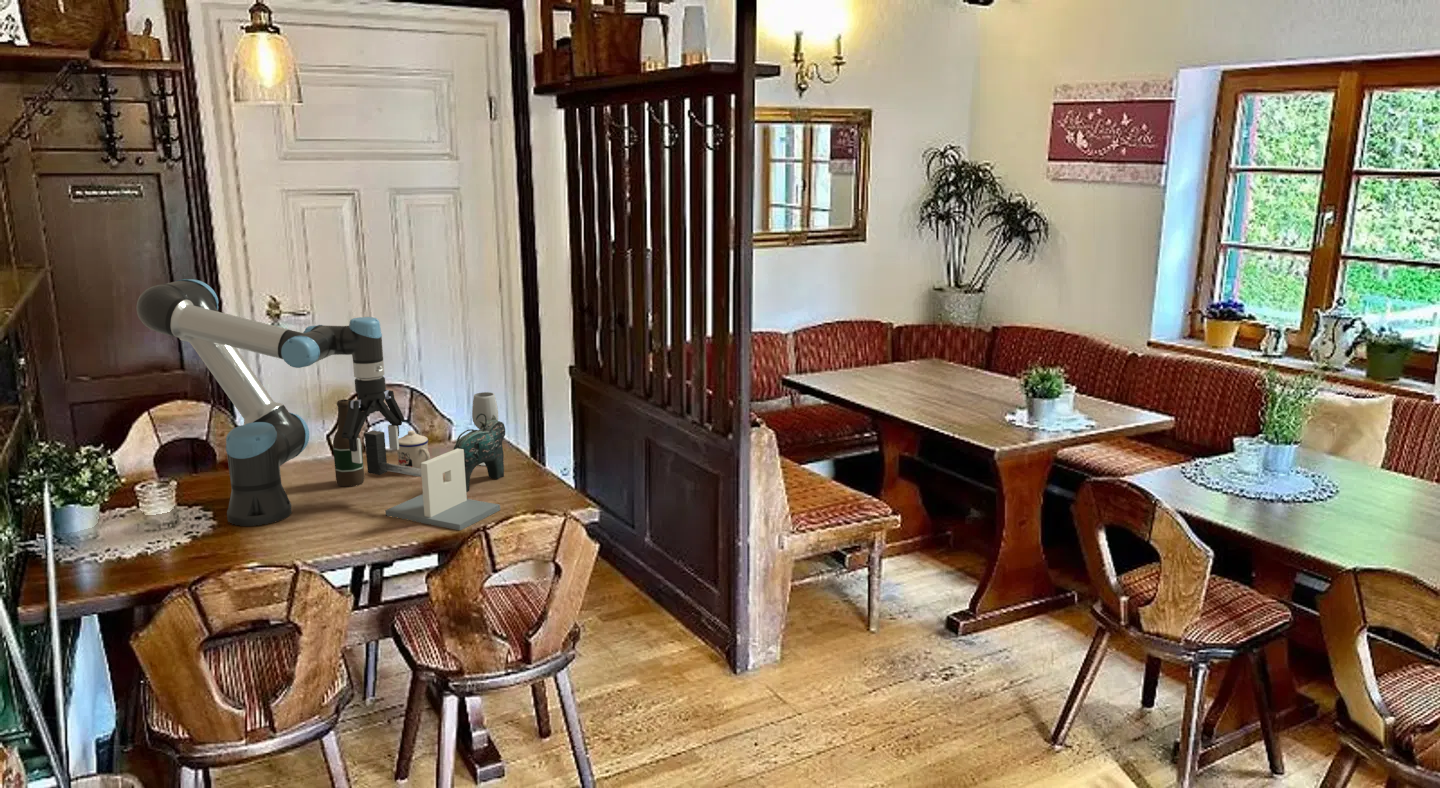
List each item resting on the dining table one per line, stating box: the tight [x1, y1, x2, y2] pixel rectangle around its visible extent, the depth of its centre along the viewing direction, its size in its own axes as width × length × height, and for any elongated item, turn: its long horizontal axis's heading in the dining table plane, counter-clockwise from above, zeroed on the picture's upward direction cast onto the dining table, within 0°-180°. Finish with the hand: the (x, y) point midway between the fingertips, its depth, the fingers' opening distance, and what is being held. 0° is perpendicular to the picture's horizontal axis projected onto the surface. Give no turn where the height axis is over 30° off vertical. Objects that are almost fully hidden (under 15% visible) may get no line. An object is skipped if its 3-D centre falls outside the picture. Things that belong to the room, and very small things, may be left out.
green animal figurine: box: [453, 413, 506, 493], centre depth 282 cm, size 20×6×20 cm, turn 152°
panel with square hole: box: [385, 448, 501, 531], centre depth 260 cm, size 16×24×16 cm, turn 65°
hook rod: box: [363, 430, 422, 478], centre depth 264 cm, size 3×22×11 cm, turn 64°
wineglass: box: [471, 391, 499, 467], centre depth 301 cm, size 8×8×21 cm
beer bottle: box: [332, 399, 365, 488], centre depth 283 cm, size 8×8×24 cm
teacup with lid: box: [396, 430, 431, 469], centre depth 295 cm, size 12×9×12 cm
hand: (376, 455), depth 268 cm, fingers open, 13 cm apart
